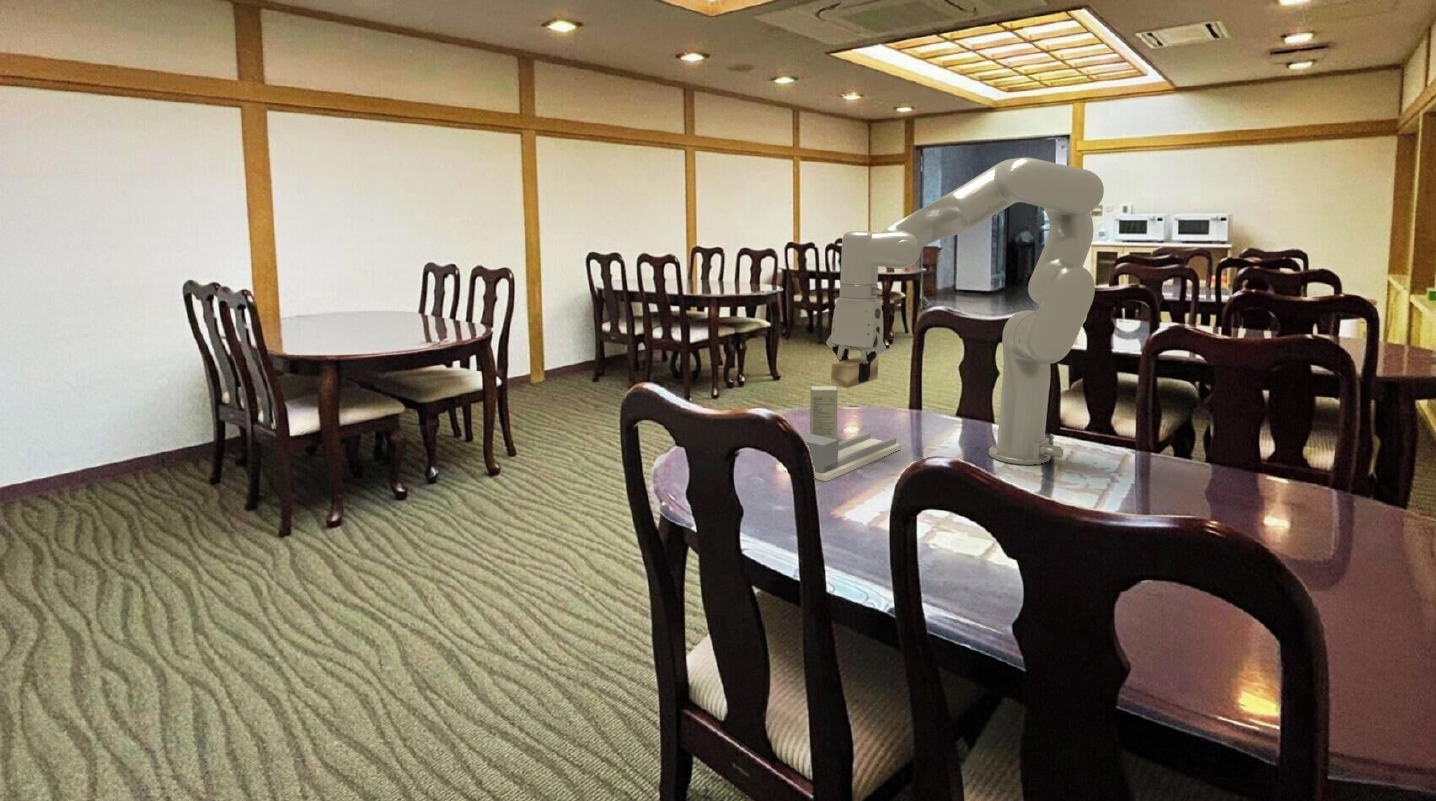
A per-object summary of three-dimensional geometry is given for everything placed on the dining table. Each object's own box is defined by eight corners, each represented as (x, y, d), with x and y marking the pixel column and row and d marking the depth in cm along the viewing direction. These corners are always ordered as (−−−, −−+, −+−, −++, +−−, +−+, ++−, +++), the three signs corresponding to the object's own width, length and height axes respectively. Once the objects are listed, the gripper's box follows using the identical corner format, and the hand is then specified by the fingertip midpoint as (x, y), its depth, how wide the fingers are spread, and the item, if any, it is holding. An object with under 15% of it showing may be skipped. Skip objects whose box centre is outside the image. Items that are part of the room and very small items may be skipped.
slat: (877, 378, 183) (878, 358, 182) (847, 387, 174) (848, 366, 173) (861, 376, 186) (862, 355, 185) (830, 385, 177) (831, 363, 176)
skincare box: (836, 437, 200) (838, 385, 198) (837, 441, 196) (839, 389, 193) (808, 436, 201) (810, 385, 198) (808, 441, 197) (810, 388, 194)
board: (900, 449, 190) (902, 419, 189) (826, 481, 168) (827, 447, 166) (861, 441, 196) (863, 411, 195) (784, 471, 174) (785, 438, 173)
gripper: (903, 294, 173) (898, 383, 177) (833, 288, 184) (829, 372, 188) (885, 296, 168) (880, 388, 172) (813, 290, 178) (810, 377, 182)
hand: (853, 379), depth 180 cm, fingers closed on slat, 4 cm apart
